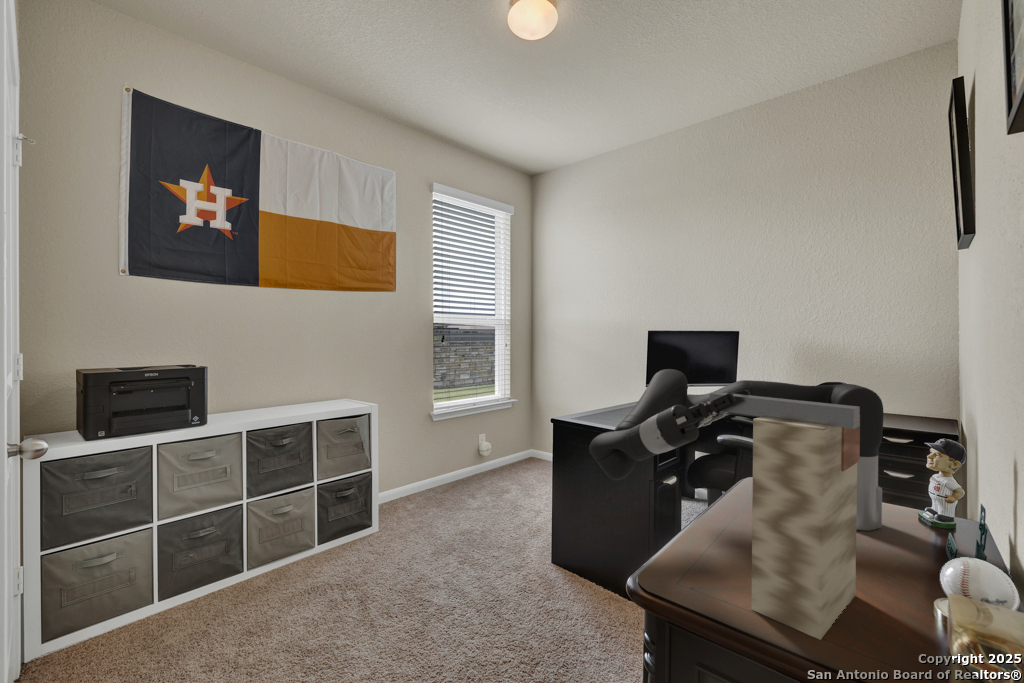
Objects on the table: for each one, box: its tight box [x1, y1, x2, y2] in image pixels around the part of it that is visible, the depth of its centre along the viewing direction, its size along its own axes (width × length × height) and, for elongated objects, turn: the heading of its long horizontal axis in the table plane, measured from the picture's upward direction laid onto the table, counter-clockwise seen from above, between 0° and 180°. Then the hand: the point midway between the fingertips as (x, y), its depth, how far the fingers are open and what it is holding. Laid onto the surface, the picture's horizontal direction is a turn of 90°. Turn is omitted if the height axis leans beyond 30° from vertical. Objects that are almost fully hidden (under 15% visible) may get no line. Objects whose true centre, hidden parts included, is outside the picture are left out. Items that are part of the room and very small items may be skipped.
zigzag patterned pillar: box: [751, 417, 860, 641], centre depth 79 cm, size 10×18×32 cm, turn 130°
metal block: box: [709, 392, 860, 429], centre depth 78 cm, size 22×3×3 cm, turn 40°
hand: (741, 396), depth 82 cm, fingers open, 5 cm apart
